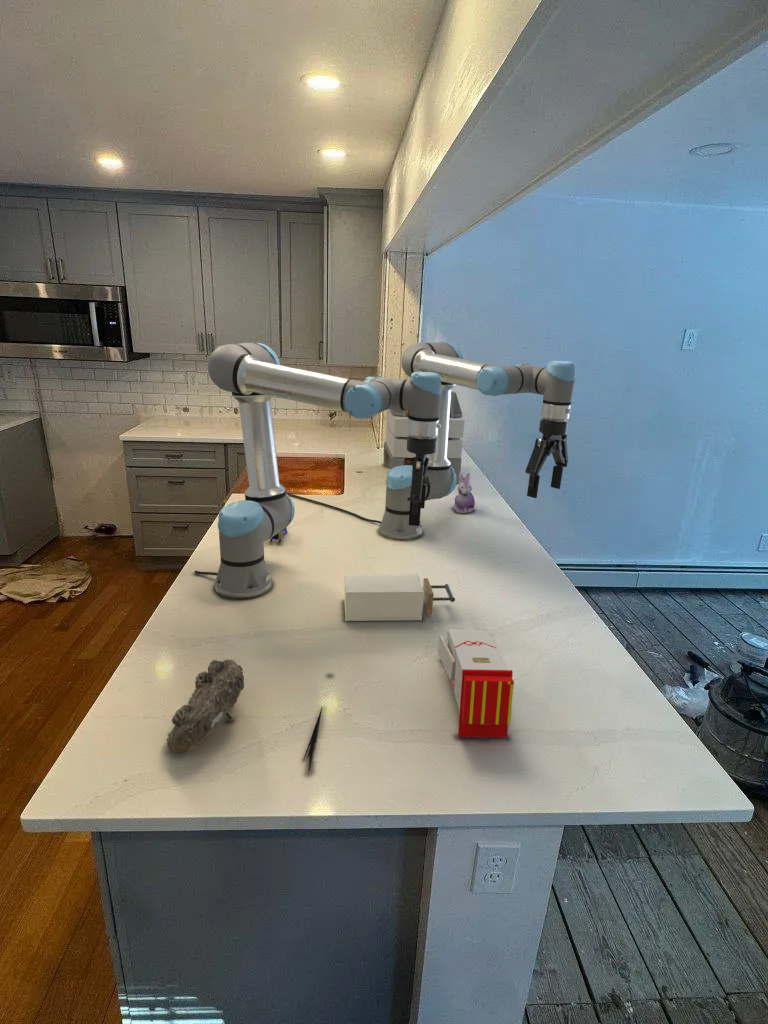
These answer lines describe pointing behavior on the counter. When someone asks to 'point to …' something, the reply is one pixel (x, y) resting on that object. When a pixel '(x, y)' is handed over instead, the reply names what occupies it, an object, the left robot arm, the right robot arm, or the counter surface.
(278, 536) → the figurine character
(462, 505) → the figurine
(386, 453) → the transformer
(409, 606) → the cabinet
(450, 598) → the drawer
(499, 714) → the toy
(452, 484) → the right robot arm
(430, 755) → the counter surface
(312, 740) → the feather
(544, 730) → the counter surface
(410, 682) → the counter surface
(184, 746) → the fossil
